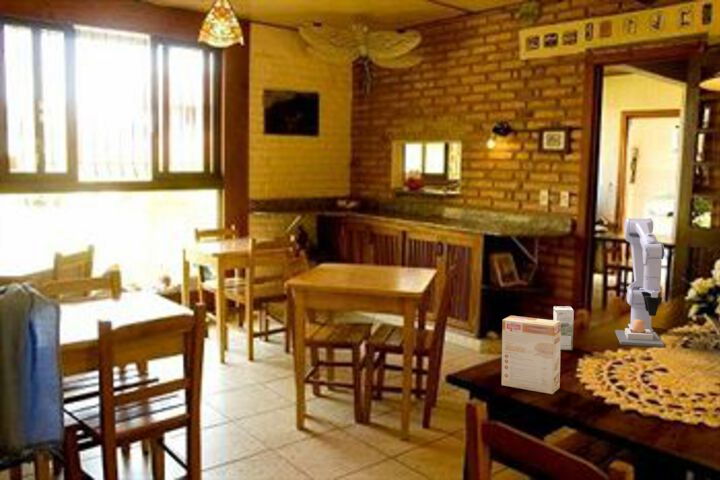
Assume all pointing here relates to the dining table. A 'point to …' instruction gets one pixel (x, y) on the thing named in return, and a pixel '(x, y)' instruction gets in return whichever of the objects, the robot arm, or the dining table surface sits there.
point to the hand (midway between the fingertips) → (650, 313)
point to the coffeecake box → (531, 354)
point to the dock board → (638, 338)
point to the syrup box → (565, 325)
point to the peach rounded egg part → (638, 326)
